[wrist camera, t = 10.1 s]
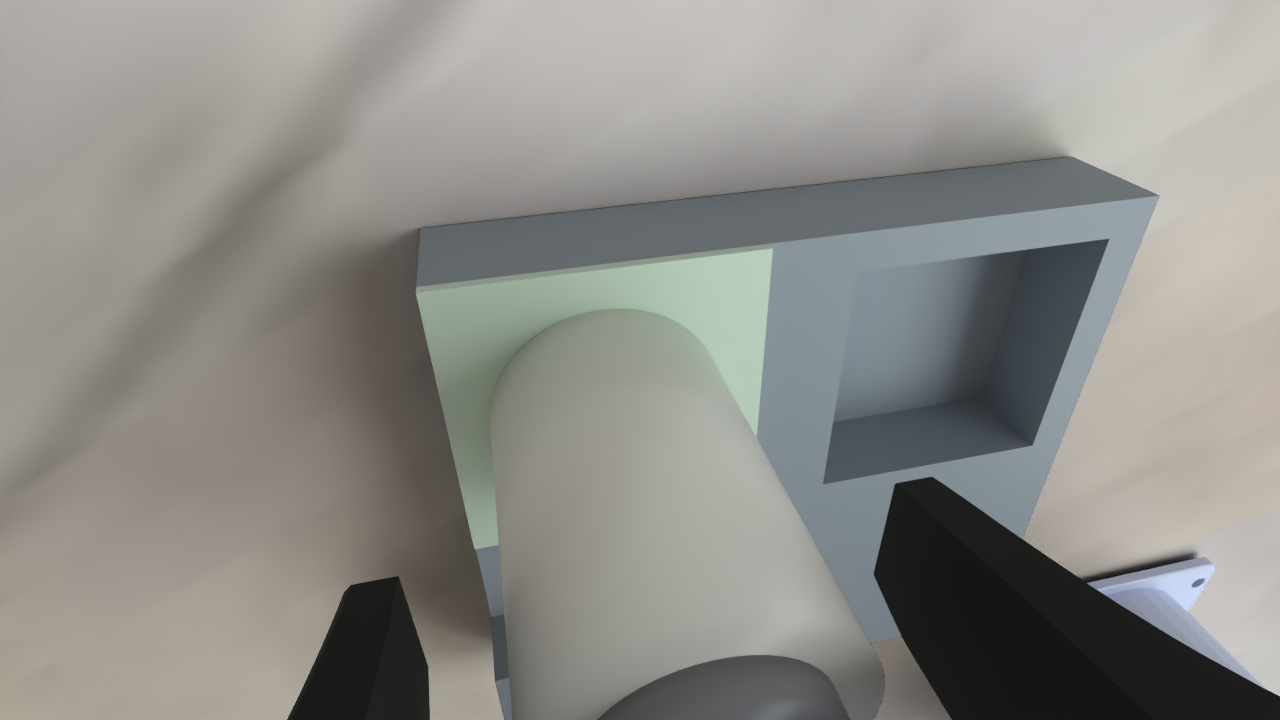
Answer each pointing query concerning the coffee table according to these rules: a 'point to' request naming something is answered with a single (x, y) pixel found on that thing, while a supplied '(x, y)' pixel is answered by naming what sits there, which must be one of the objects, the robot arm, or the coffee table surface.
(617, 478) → the cylinder
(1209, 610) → the coffee table surface
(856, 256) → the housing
